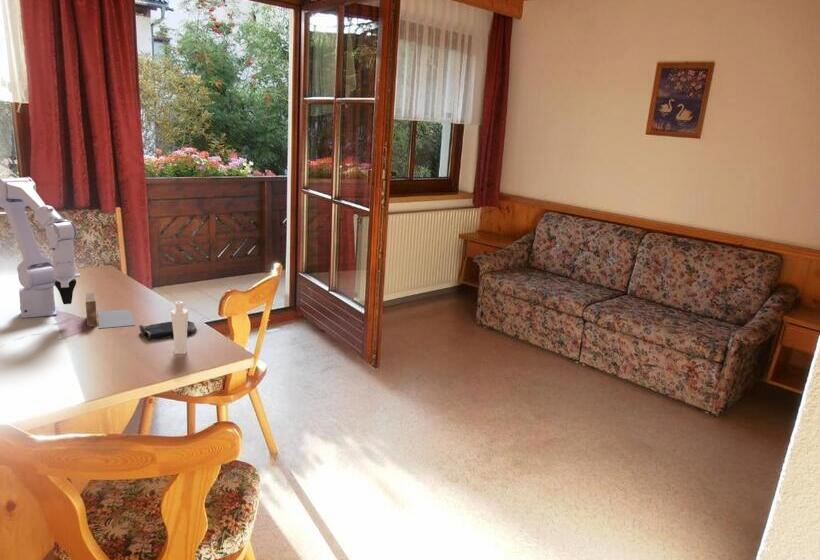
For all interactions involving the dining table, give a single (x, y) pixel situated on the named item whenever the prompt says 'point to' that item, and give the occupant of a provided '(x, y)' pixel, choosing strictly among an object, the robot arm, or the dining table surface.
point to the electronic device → (163, 330)
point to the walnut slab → (91, 309)
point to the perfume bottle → (180, 328)
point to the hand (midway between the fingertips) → (67, 303)
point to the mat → (115, 318)
